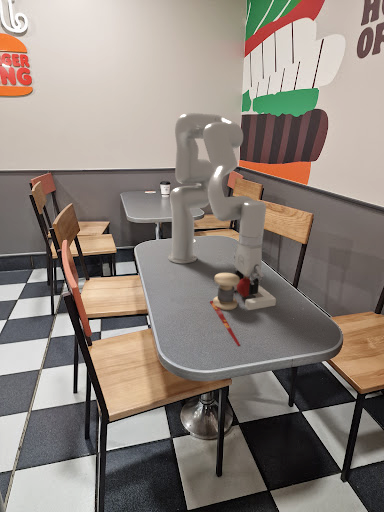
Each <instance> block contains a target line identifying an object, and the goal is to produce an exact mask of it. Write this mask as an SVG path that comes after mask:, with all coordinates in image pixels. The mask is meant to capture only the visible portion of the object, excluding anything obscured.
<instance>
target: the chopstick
mask: <svg viewBox="0 0 384 512" xmlns="http://www.w3.org/2000/svg"><path fill="white" fill-rule="evenodd" d="M209 303H210V306H211V307H212V308H213V310H214V311H215V313H216V314H217V316H218V318H219V319H220V320H221V322H222V324H223V325H224V326H225V328H226V330H227V332H228V334H230V336H231V337H232V340H233V341H234V343H235V344H236V345H237V347H241V344H240V342H239V340H238V338H237V337H236V335H235V333H234V331H233V330H232V328H231V326H230V324H229V322H228V320H227V319H226V318H225V316H224V313H223V312H222V310H221V309H220V308H219V307H216V306H215V305H214V304H213V300H210V301H209Z"/></svg>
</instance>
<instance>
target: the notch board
mask: <svg viewBox="0 0 384 512" xmlns="http://www.w3.org/2000/svg"><path fill="white" fill-rule="evenodd" d="M233 287H234V292H235V291H237V285H235V286H233ZM253 296H254V297H255V298H254V297H252V298H247V299H245V302H244V303H245V304H244V307H245V308H246V309H247V310H248V311H253V310H258V309H264V308H268V307H269V308H270V307H273V306H276V303H277V298H276V297H275V296H274V295H272V294H271V293H270V292H269V291H267V290H266V289H265V288H264V287H262V286H261V285H260V284H259V287H258V293H257V294H253Z"/></svg>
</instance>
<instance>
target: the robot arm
mask: <svg viewBox="0 0 384 512" xmlns="http://www.w3.org/2000/svg"><path fill="white" fill-rule="evenodd" d="M174 126H175V127H174V134H175V135H174V136H175V142H176V153H175V154H176V155H175V168H174V169H175V170H174V171H175V172H174V173H175V174H174V175H175V180H176V182H177V183H179V184H181V185H182V184H184V185H185V186H178V187H175V188H173V189H172V190H171V191H170V194H169V203H170V211H171V253H169V254H168V257H167V258H168V260H169V261H170V262H172V263H175V264H186V265H187V264H191V263H193V262H195V261H196V260H197V259H198V257H197V254H195V253H194V244H195V242H194V241H195V218H194V216H193V214H192V212H191V210H196V209H202V208H203V209H204V208H206V207H207V206H208V205H210V208H211V211H212V214H213V216H214V217H215V219H216V220H218V221H220V222H229V221H235V220H240V222H239V232H238V241H237V244H236V248H235V255H234V257H233V258H234V261H233V263H234V265H233V267H234V271H235V272H234V274H235V275H237V276H238V277H239V278H240V280H241V279H242V278H244V277H245V276H246V277H248V278H249V279H250V281H251V283H250V284H249V293H248V294H249V296H252V295H253V294H257V293H258V287H259V285H260V284H261V282H262V281H263V278H264V274H263V271H262V257H263V256H262V255H263V254H262V252H263V250H262V248H263V247H262V245H263V239H264V238H263V237H264V230H265V221H266V214H267V213H266V212H267V205H266V203H265V202H264V201H261V200H255V199H254V198H251V197H250V196H247V195H238V196H227V197H226V196H225V194H224V193H225V192H224V190H223V179H224V177H225V176H227V175H228V174H230V173H232V172H233V171H234V170H235V169H237V166H238V161H237V157H236V154H235V150H234V149H238V148H240V147H241V146H242V144H243V141H244V132H243V129H242V128H241V126H240V125H239V124H238V123H236V122H234V121H232V120H231V119H229V118H226V117H225V116H222V115H219V114H212V113H211V114H209V113H199V112H198V113H197V112H196V113H195V112H187V113H184V114H181V115H180V116H178V118H177V120H176V122H175V125H174ZM197 139H200V140H203V142H204V145H205V149H206V152H207V157H208V159H209V160H208V159H204V158H199V152H200V151H199V146H198V142H197V141H196V140H197ZM189 184H191V185H189ZM193 184H195V185H193ZM254 277H255V278H254ZM253 296H254V295H253Z"/></svg>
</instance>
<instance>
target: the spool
mask: <svg viewBox="0 0 384 512" xmlns="http://www.w3.org/2000/svg"><path fill="white" fill-rule="evenodd" d="M213 280H214V282H215V283H216V284H217V285H218V287H217V296H215V297H214V298H213V299H212V301H213V304H214V305H215V306H216V307H219V308H220V310H221V311H231V310H235V309H236V308H237V307H238V300H237V299H236V298H235V296H234V295H235V291H234V287H233V286H235V285H237V284H239V281H240V278H239V277H238V276H237V275H235V273H233V272H232V273H231V272H219V273H217V274H215V275H214V278H213Z"/></svg>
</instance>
